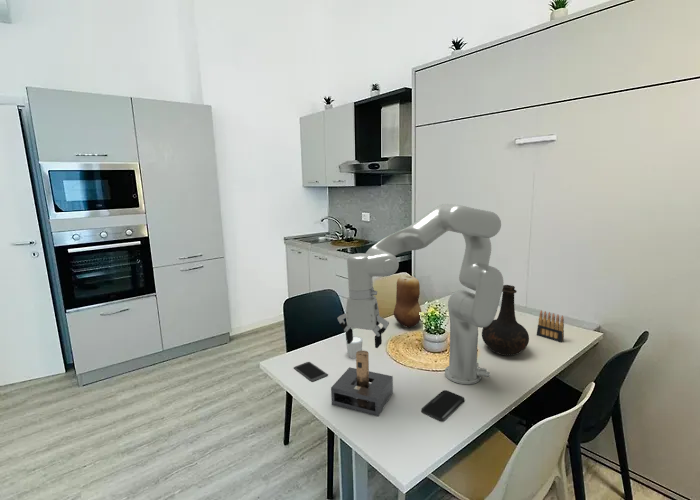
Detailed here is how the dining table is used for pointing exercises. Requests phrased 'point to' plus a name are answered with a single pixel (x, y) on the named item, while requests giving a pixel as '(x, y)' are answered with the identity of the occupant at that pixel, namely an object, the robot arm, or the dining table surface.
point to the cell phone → (310, 371)
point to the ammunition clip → (551, 327)
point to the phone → (443, 405)
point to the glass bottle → (506, 328)
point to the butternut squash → (407, 301)
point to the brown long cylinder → (362, 369)
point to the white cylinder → (354, 346)
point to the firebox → (362, 392)
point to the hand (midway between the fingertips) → (363, 344)
